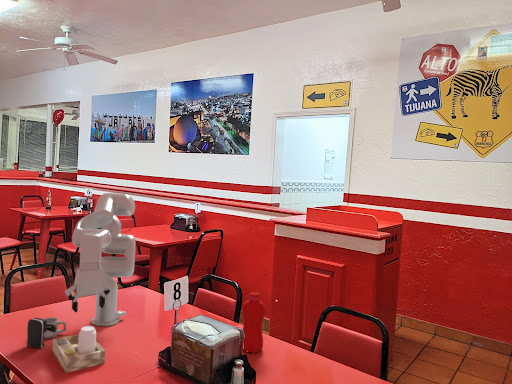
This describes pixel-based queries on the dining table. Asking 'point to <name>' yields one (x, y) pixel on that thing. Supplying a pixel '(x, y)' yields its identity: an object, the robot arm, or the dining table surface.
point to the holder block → (76, 354)
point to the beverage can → (87, 340)
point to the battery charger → (36, 332)
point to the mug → (53, 327)
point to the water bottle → (253, 322)
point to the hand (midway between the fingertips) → (88, 308)
